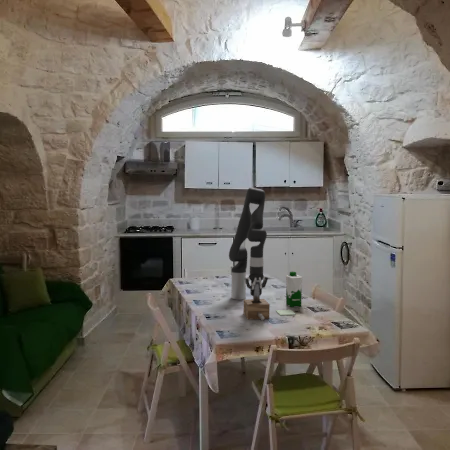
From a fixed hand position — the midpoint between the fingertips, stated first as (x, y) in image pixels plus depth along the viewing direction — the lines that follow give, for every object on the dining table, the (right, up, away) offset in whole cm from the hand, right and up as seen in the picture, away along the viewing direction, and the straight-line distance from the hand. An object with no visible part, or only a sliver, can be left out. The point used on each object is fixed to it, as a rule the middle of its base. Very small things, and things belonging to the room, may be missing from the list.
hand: (255, 295), depth 259 cm
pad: (+17, -11, +7) cm, 22 cm away
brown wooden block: (+1, -12, -3) cm, 13 cm away
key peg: (0, -4, 0) cm, 4 cm away
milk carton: (+25, -10, +24) cm, 36 cm away
